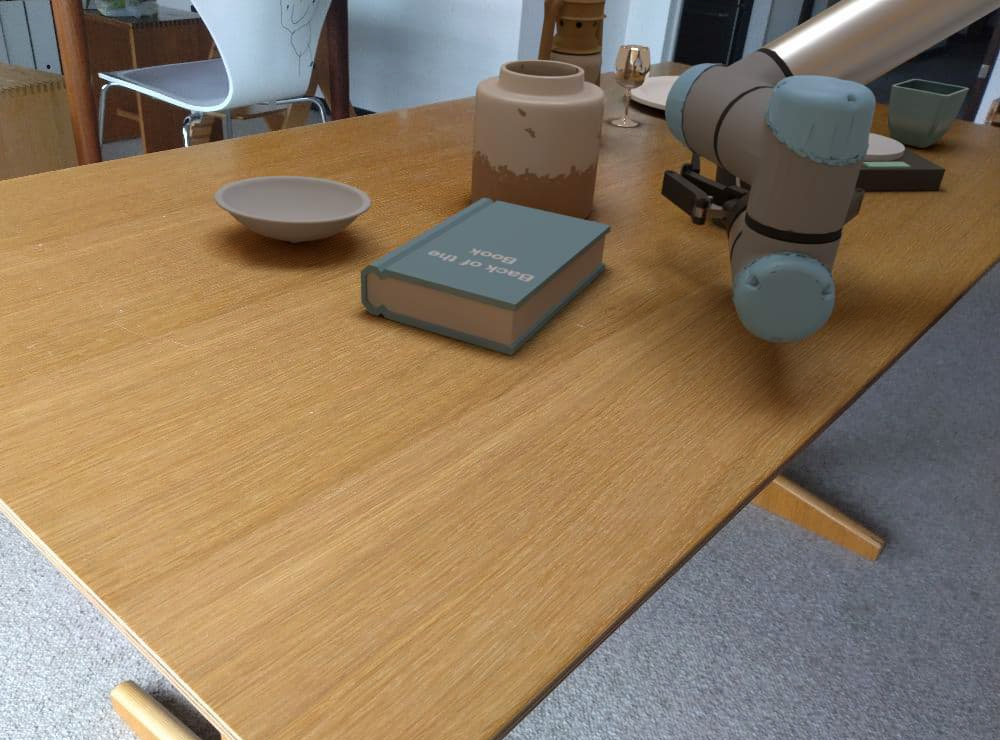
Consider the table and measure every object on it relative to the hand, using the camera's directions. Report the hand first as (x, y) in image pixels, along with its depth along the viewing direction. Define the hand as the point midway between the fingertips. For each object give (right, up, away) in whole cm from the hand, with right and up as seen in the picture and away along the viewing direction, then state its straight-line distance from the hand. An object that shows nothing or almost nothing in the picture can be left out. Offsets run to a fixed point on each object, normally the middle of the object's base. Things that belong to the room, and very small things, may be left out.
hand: (755, 170), depth 99 cm
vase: (-24, -2, +12) cm, 27 cm away
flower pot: (+40, +16, +44) cm, 62 cm away
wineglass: (-6, +21, +49) cm, 53 cm away
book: (-30, -15, -9) cm, 35 cm away
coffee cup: (+1, -4, +10) cm, 11 cm away
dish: (-52, -8, 0) cm, 52 cm away
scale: (+24, +9, +31) cm, 40 cm away
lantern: (-17, +14, +38) cm, 44 cm away
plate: (+11, +28, +61) cm, 68 cm away
